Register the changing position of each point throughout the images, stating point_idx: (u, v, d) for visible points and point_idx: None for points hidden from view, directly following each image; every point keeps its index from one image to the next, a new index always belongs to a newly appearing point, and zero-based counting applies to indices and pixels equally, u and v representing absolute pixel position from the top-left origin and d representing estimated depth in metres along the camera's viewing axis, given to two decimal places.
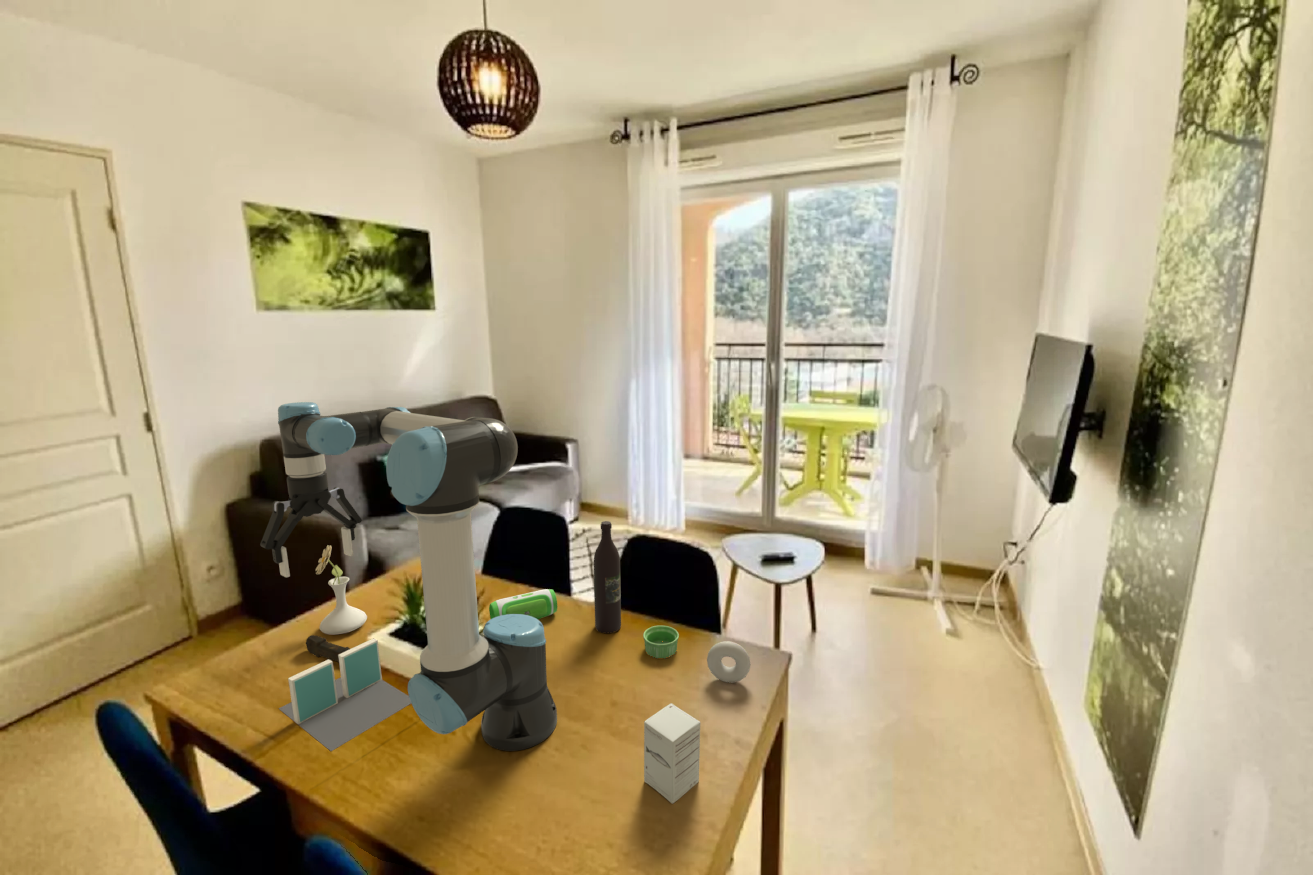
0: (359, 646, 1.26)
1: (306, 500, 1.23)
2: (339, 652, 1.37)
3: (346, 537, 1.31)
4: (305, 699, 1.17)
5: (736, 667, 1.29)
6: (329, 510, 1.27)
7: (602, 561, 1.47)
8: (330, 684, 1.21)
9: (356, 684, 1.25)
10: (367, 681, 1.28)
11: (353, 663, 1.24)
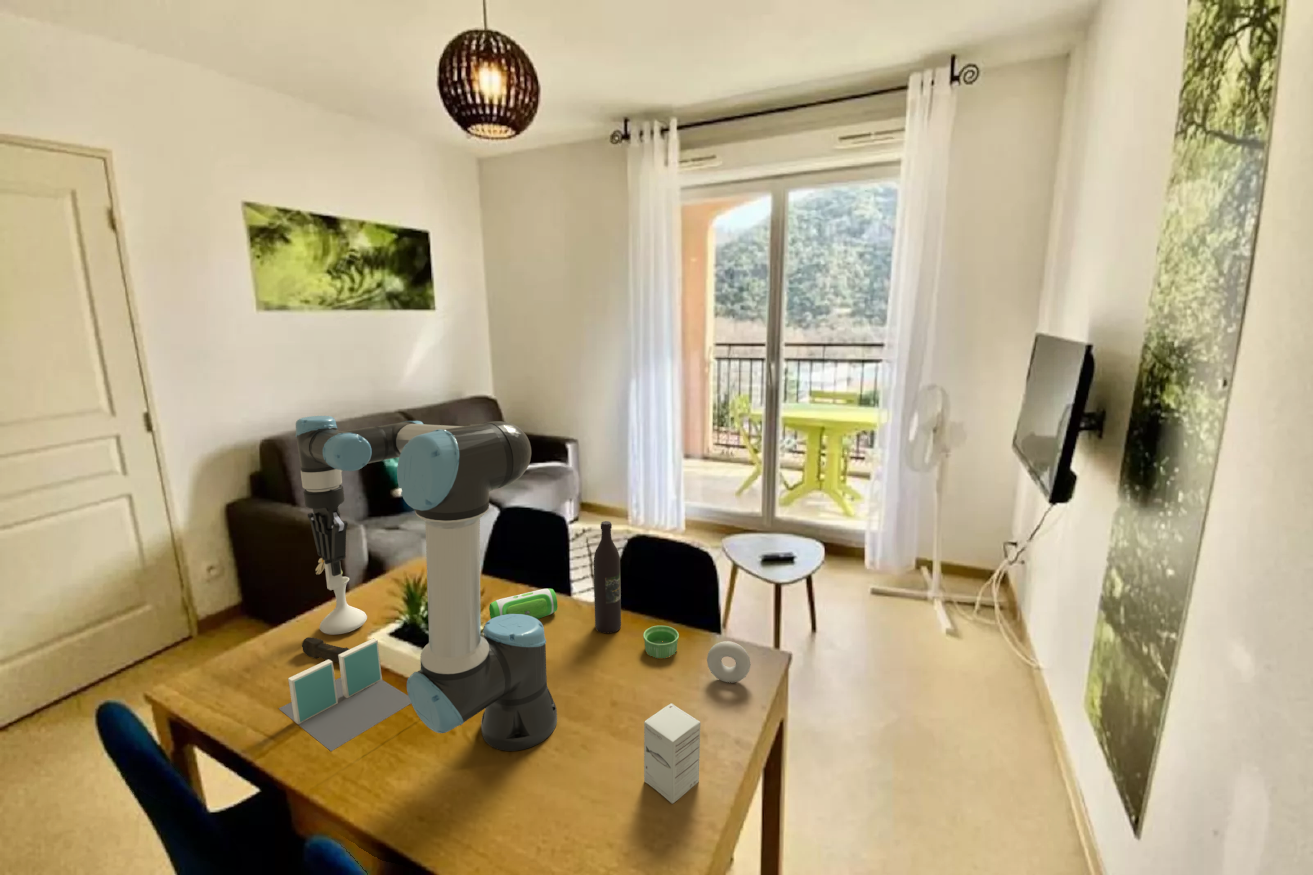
0: (359, 646, 1.26)
1: (317, 512, 1.24)
2: (338, 653, 1.37)
3: None
4: (305, 699, 1.17)
5: (736, 667, 1.29)
6: (322, 531, 1.23)
7: (602, 561, 1.47)
8: (330, 684, 1.21)
9: (356, 684, 1.25)
10: (367, 681, 1.28)
11: (353, 663, 1.24)
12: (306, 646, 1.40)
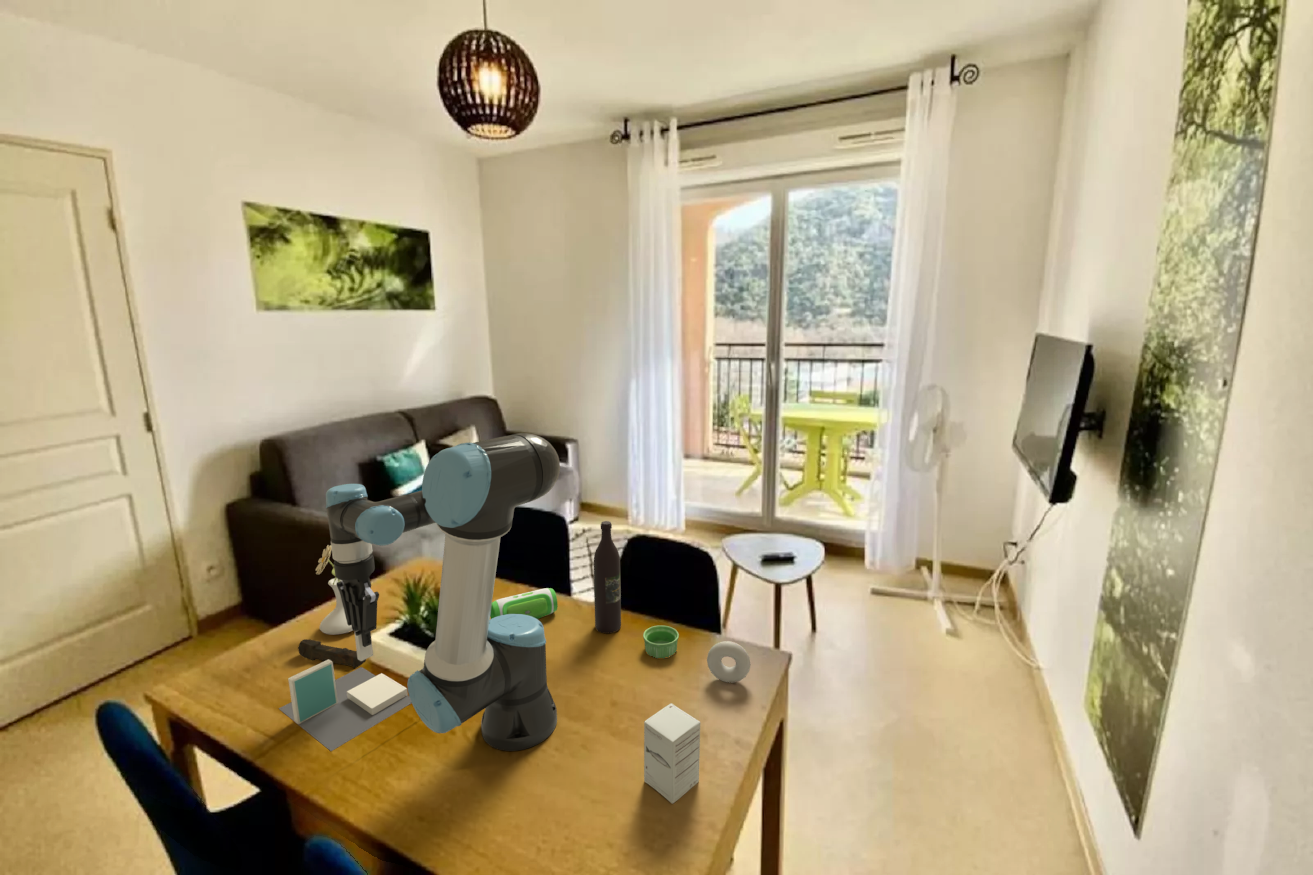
0: (391, 700, 1.22)
1: (347, 581, 1.21)
2: (338, 653, 1.37)
3: None
4: (305, 699, 1.17)
5: (736, 667, 1.29)
6: (353, 602, 1.20)
7: (602, 561, 1.47)
8: (330, 684, 1.21)
9: None
10: None
11: None
12: (303, 648, 1.39)
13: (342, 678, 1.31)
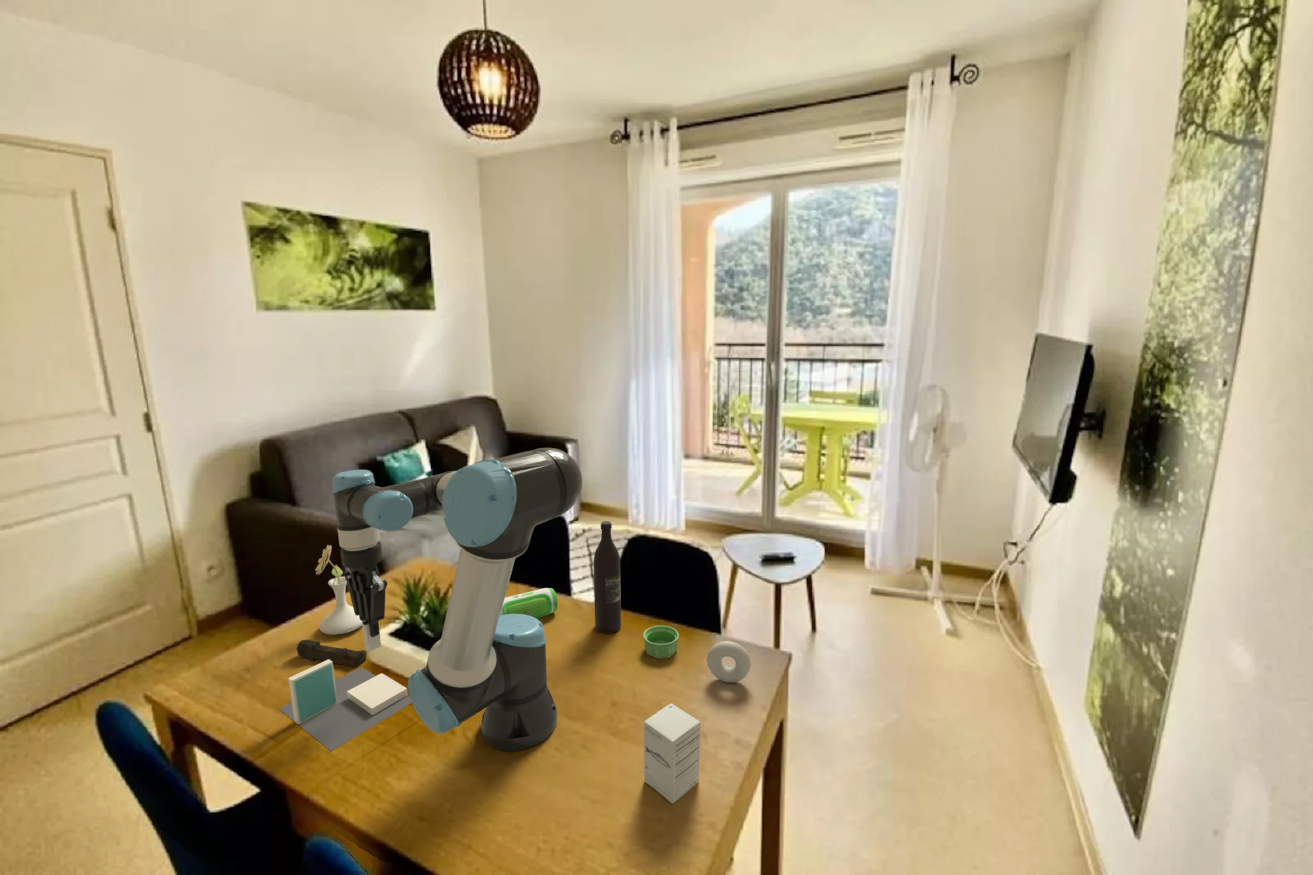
0: (391, 700, 1.22)
1: (354, 570, 1.19)
2: (338, 653, 1.36)
3: None
4: (305, 699, 1.17)
5: (736, 667, 1.29)
6: (360, 591, 1.17)
7: (602, 561, 1.47)
8: (330, 684, 1.21)
9: None
10: None
11: None
12: (302, 649, 1.39)
13: (342, 678, 1.31)
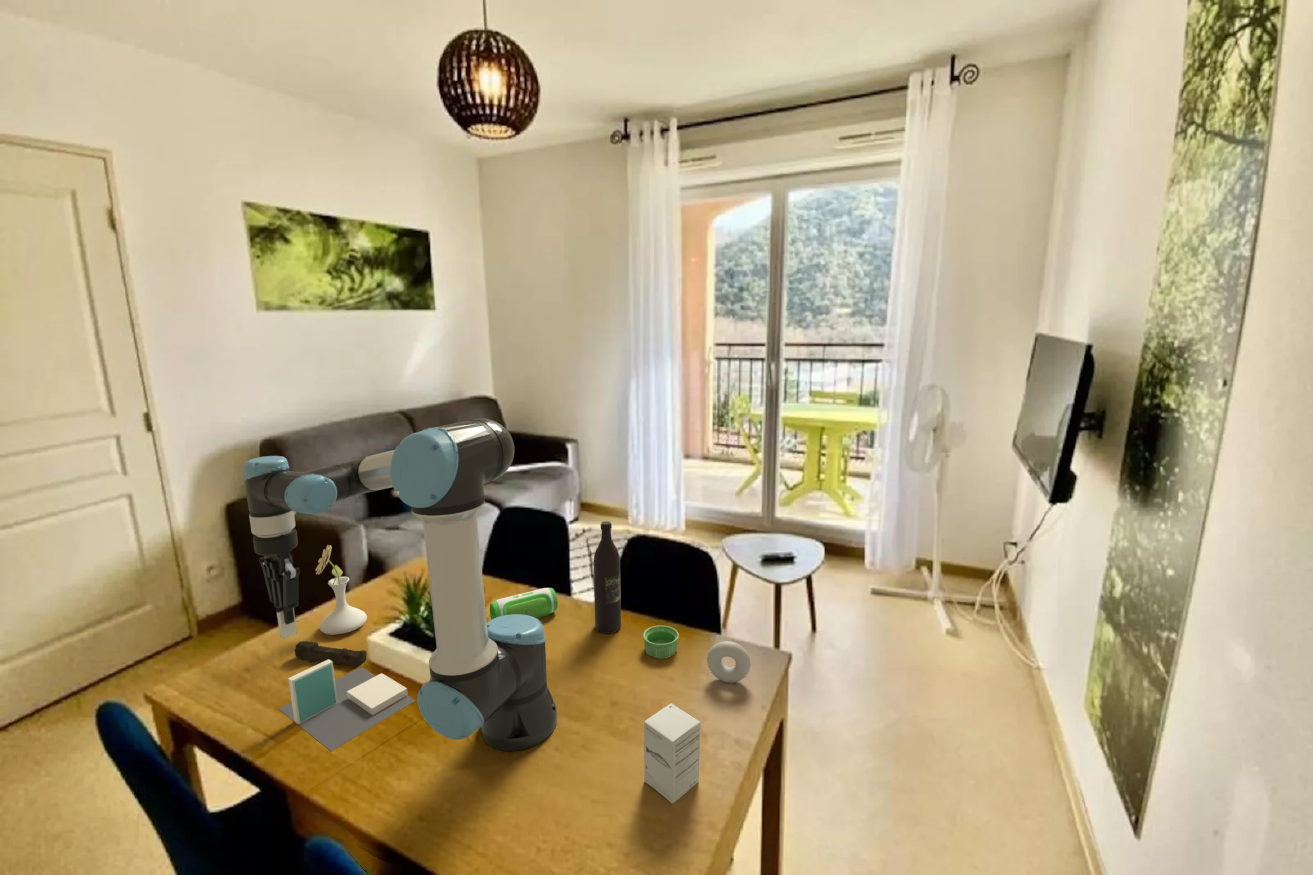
0: (391, 700, 1.22)
1: (268, 557, 1.18)
2: (338, 654, 1.36)
3: None
4: (305, 699, 1.17)
5: (736, 667, 1.29)
6: (273, 578, 1.16)
7: (602, 561, 1.47)
8: (330, 684, 1.21)
9: None
10: None
11: None
12: (300, 650, 1.38)
13: (342, 678, 1.31)
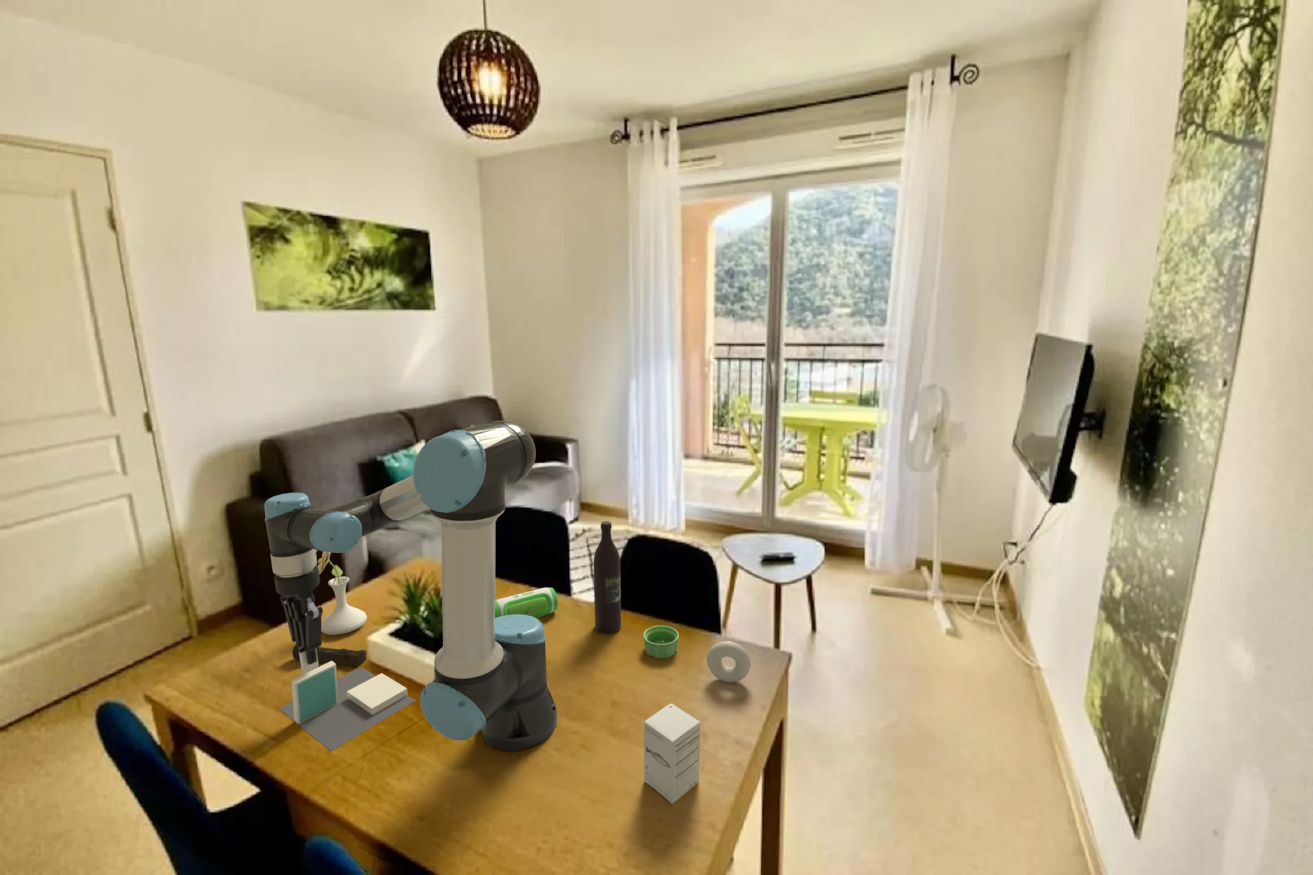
0: (391, 700, 1.22)
1: (290, 596, 1.15)
2: (337, 654, 1.36)
3: None
4: (307, 700, 1.16)
5: (736, 667, 1.29)
6: (295, 618, 1.14)
7: (602, 561, 1.47)
8: (332, 685, 1.20)
9: None
10: None
11: None
12: (298, 652, 1.38)
13: (342, 678, 1.31)
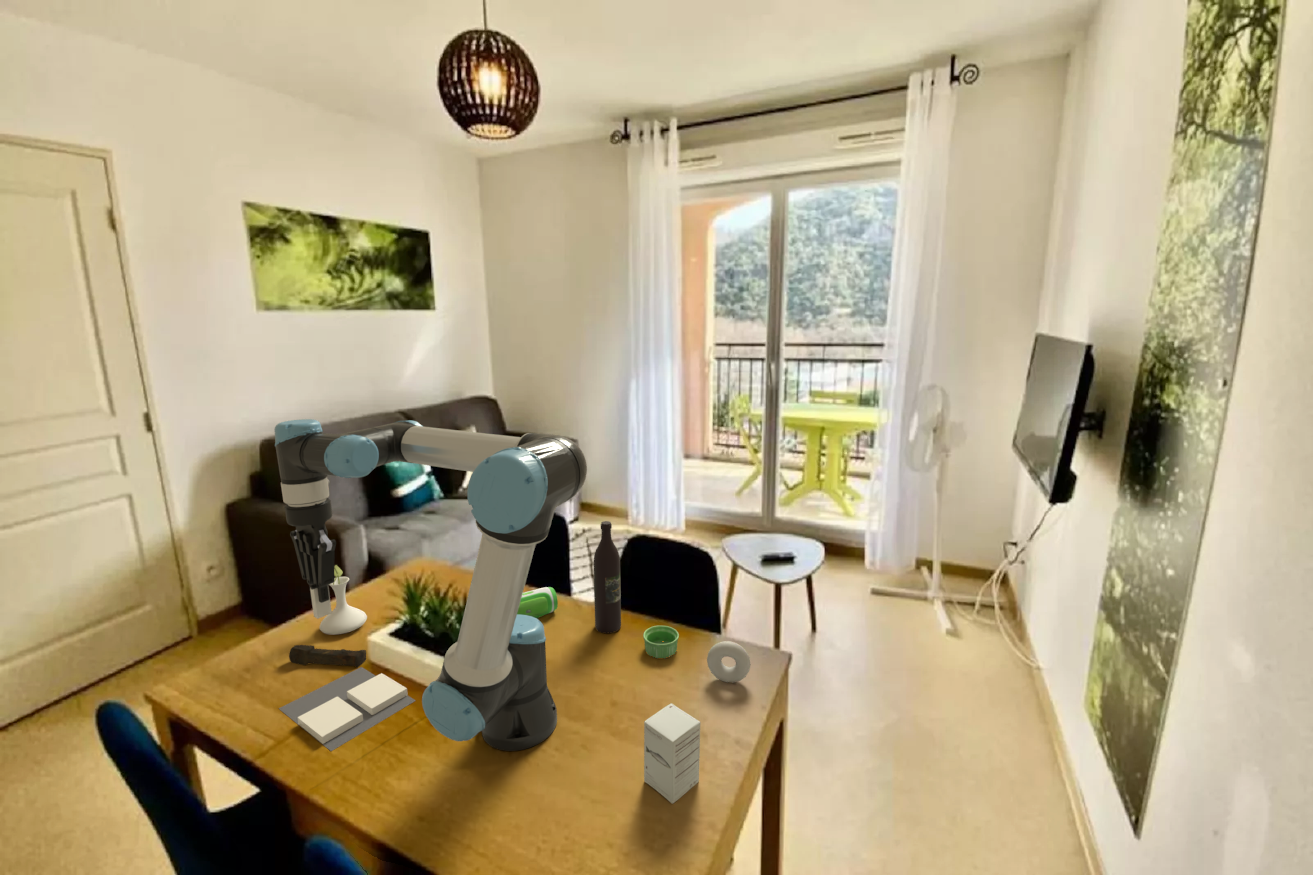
0: (391, 700, 1.22)
1: (300, 529, 1.09)
2: (337, 655, 1.36)
3: None
4: None
5: (736, 667, 1.29)
6: (307, 551, 1.08)
7: (602, 561, 1.47)
8: None
9: None
10: None
11: None
12: (296, 654, 1.37)
13: (342, 678, 1.31)
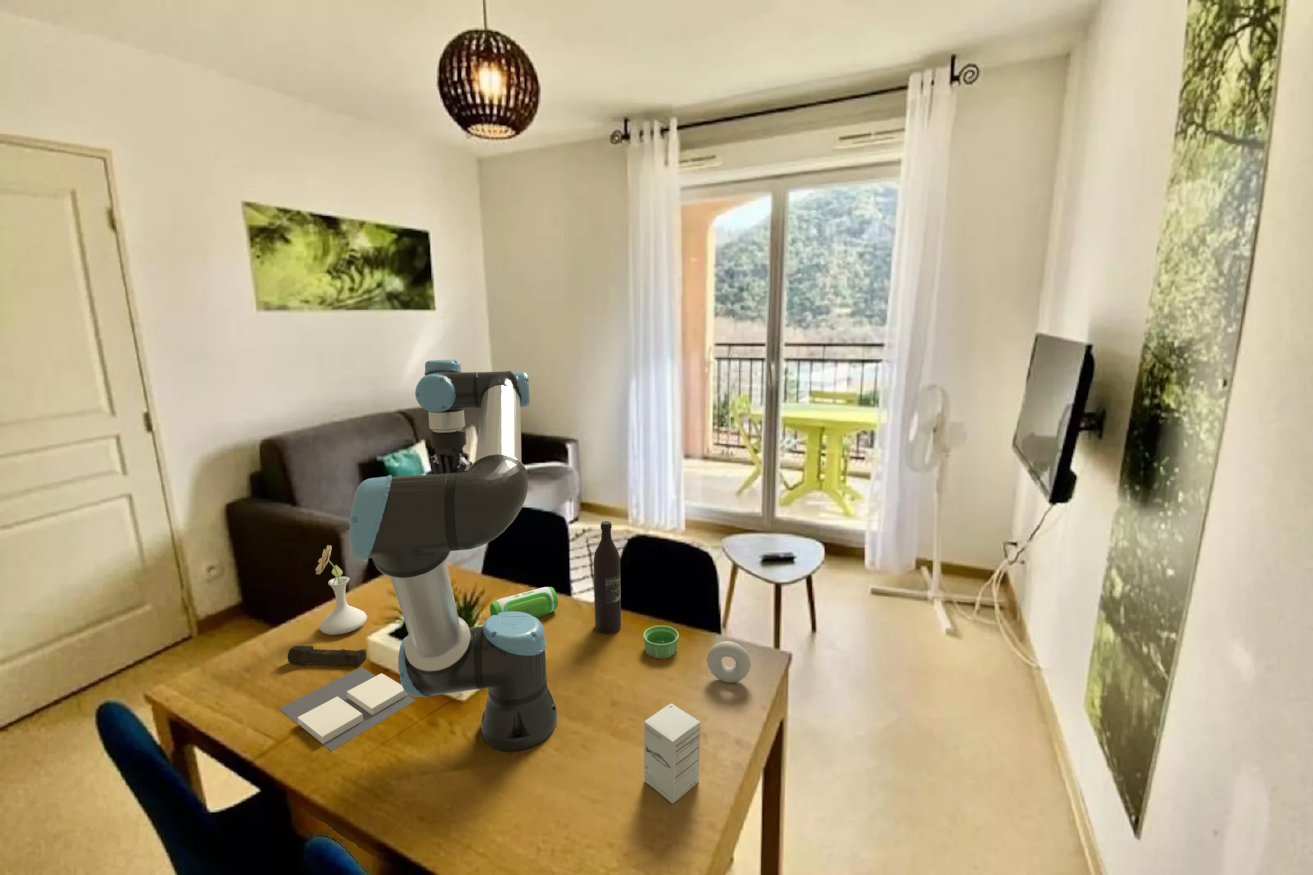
0: (391, 700, 1.22)
1: (440, 453, 1.28)
2: (337, 655, 1.36)
3: None
4: None
5: (736, 667, 1.29)
6: (447, 472, 1.27)
7: (602, 561, 1.47)
8: None
9: None
10: None
11: None
12: (295, 655, 1.36)
13: (342, 678, 1.31)
